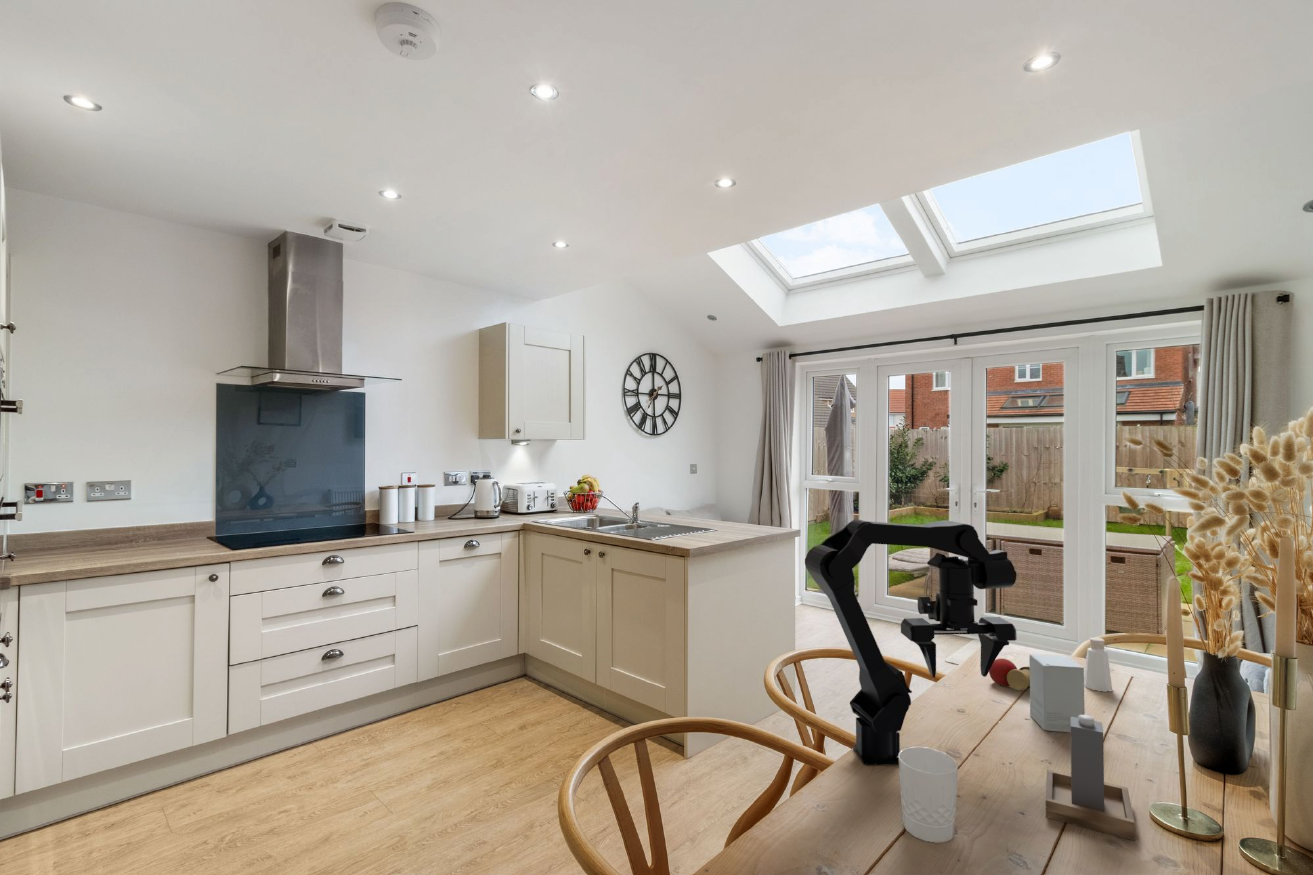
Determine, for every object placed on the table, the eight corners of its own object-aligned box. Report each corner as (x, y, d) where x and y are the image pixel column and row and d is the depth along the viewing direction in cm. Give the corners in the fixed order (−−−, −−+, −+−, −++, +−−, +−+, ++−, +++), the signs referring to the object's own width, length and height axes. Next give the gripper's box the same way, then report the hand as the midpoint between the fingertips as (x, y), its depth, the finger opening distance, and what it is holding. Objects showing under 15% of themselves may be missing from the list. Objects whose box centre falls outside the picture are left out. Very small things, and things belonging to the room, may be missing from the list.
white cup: (954, 853, 86) (953, 779, 86) (893, 834, 90) (893, 764, 90) (961, 823, 93) (960, 755, 93) (904, 807, 97) (904, 741, 97)
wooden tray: (1045, 816, 94) (1045, 800, 94) (1047, 784, 103) (1046, 768, 103) (1134, 840, 89) (1134, 822, 89) (1127, 803, 98) (1127, 787, 98)
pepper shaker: (1118, 692, 140) (1118, 642, 141) (1093, 692, 141) (1093, 642, 141) (1101, 682, 146) (1101, 635, 146) (1077, 683, 146) (1077, 635, 146)
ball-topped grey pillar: (1071, 806, 95) (1070, 719, 95) (1071, 793, 99) (1070, 709, 99) (1104, 814, 93) (1103, 725, 93) (1102, 801, 96) (1101, 715, 97)
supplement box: (1086, 734, 121) (1085, 667, 121) (1043, 730, 122) (1042, 665, 122) (1069, 717, 128) (1068, 654, 128) (1028, 714, 129) (1028, 652, 129)
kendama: (1084, 706, 137) (997, 671, 151) (1086, 680, 135) (999, 647, 149) (1069, 722, 132) (981, 684, 146) (1072, 695, 131) (983, 660, 145)
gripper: (985, 580, 124) (987, 660, 124) (889, 581, 124) (891, 661, 124) (1017, 593, 112) (1019, 681, 112) (911, 595, 113) (913, 683, 113)
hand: (958, 676), depth 116 cm, fingers open, 9 cm apart
